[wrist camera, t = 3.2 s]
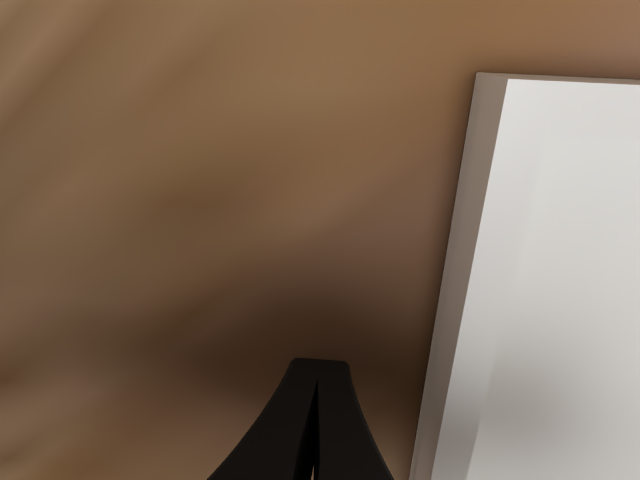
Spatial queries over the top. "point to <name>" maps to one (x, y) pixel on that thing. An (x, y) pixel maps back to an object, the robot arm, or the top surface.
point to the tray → (539, 289)
